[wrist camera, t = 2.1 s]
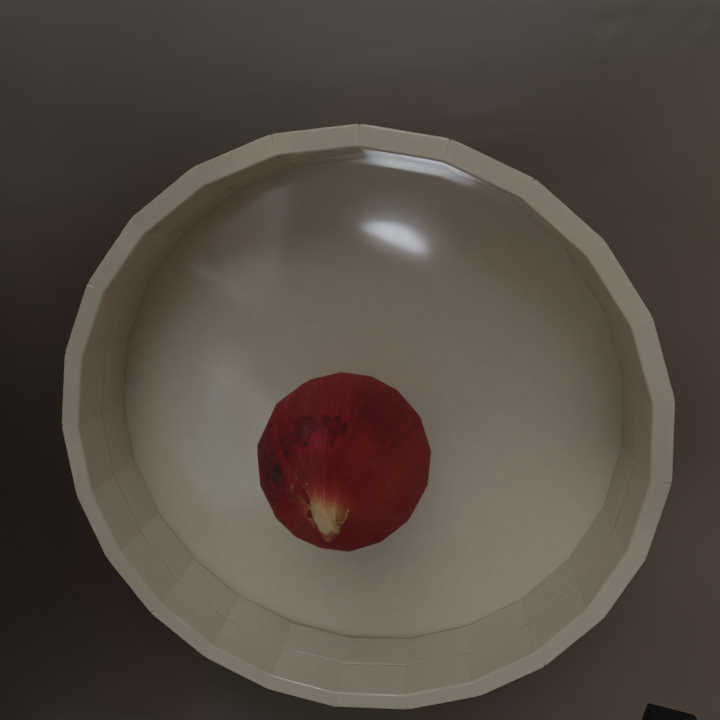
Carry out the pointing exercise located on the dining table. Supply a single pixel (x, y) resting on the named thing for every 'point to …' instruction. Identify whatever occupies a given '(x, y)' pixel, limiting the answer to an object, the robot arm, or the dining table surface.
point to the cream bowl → (393, 367)
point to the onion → (343, 461)
